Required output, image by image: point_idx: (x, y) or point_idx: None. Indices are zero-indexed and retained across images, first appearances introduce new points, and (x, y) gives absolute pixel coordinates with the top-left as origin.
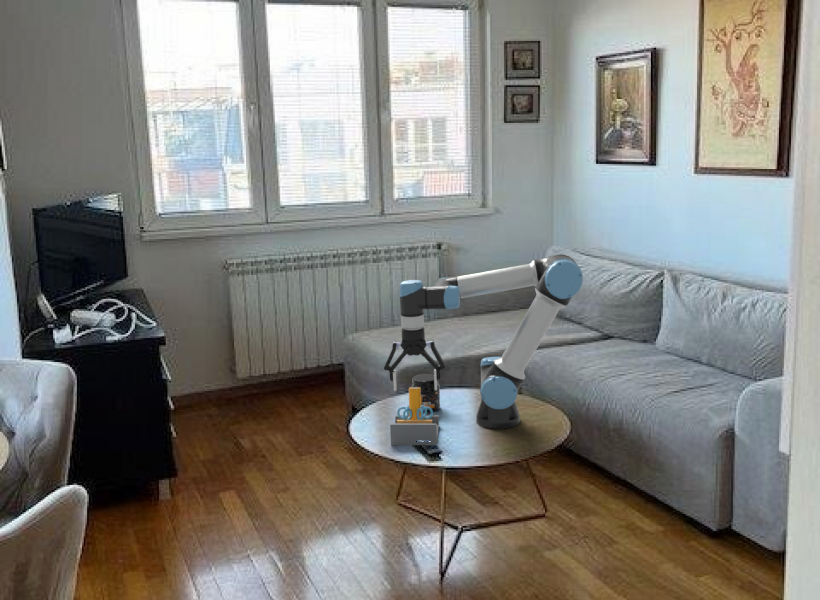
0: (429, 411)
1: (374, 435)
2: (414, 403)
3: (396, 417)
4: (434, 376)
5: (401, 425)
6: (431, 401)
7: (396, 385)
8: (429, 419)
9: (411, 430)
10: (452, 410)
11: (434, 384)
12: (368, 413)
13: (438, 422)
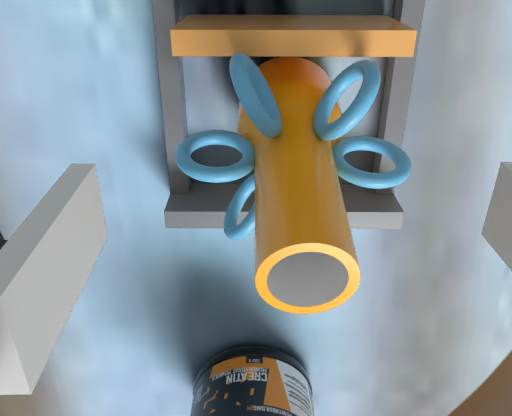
0: (234, 348)
1: (507, 73)
2: (300, 163)
3: (394, 209)
4: (31, 247)
5: None
6: (222, 386)
7: (501, 242)
8: (215, 203)
9: None
10: (142, 367)
11: (74, 191)
12: (495, 341)
13: (170, 195)
